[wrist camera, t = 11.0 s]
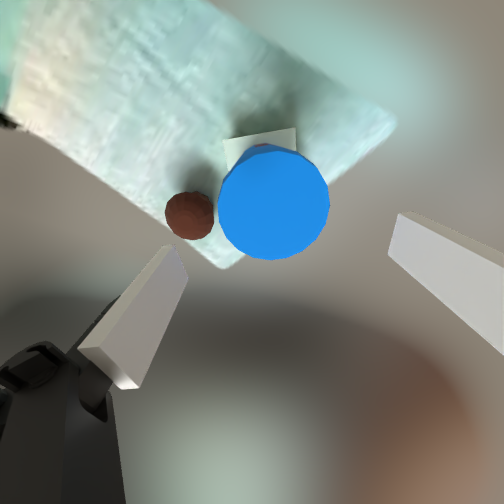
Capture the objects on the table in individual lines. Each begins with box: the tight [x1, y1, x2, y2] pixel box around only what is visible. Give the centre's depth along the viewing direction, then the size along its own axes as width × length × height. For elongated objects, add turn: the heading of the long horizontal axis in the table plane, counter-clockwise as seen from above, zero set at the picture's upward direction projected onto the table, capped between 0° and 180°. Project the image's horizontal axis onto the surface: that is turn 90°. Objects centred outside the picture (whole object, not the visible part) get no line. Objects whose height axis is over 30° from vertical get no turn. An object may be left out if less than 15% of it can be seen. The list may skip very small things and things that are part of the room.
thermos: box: [218, 143, 330, 260], centre depth 28 cm, size 11×11×25 cm
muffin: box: [165, 191, 214, 240], centre depth 45 cm, size 12×11×10 cm
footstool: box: [222, 127, 296, 172], centre depth 42 cm, size 14×14×6 cm
